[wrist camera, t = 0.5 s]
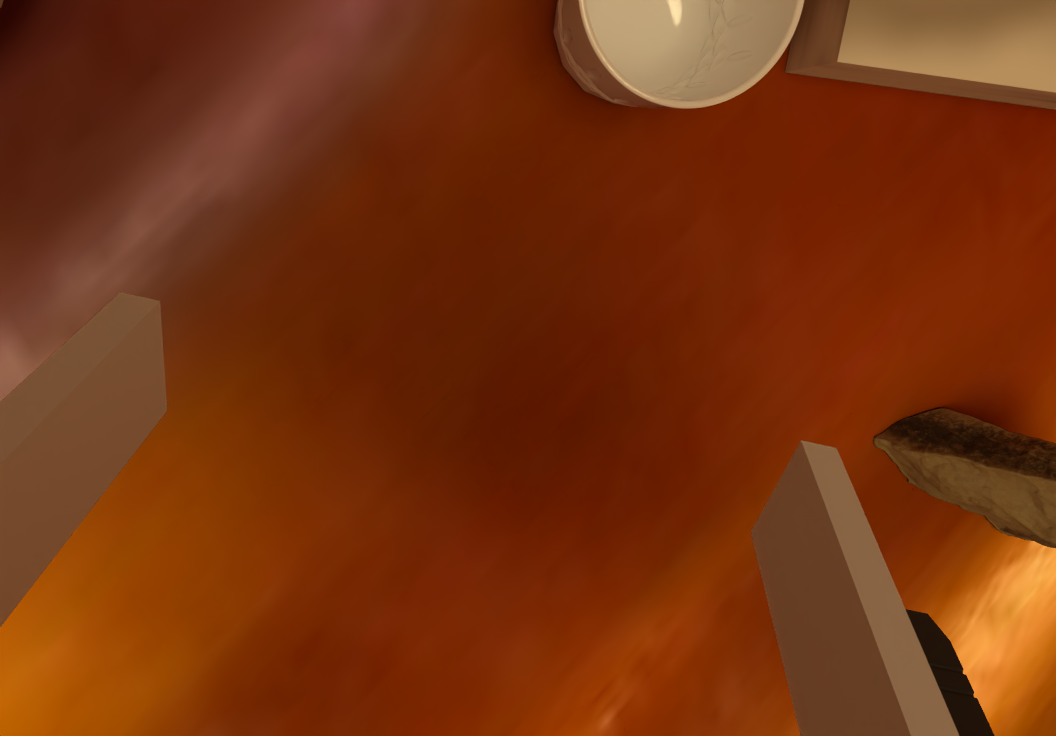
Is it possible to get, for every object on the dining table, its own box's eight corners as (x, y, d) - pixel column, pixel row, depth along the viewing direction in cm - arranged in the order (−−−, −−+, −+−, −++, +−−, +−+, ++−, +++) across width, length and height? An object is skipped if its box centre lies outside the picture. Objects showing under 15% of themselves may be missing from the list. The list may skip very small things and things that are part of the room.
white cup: (553, -85, 33) (599, -177, 24) (724, -53, 34) (833, -127, 25) (529, 103, 35) (561, 89, 26) (690, 128, 36) (778, 123, 27)
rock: (1112, 521, 43) (1107, 377, 39) (1133, 645, 37) (1130, 489, 33) (901, 514, 49) (877, 388, 45) (889, 619, 43) (860, 484, 39)
